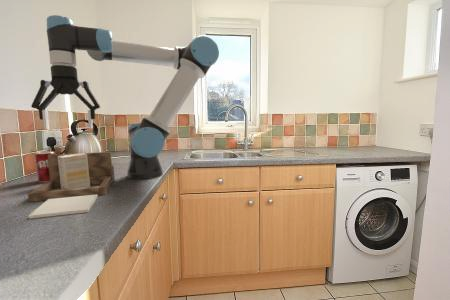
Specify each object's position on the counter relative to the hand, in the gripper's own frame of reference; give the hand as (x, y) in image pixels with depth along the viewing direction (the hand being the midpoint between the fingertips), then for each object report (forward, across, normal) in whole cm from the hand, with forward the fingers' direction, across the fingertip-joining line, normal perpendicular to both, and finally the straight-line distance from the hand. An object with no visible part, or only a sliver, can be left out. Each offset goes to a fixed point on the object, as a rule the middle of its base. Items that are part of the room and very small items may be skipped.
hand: (69, 129), depth 87 cm
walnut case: (+22, -1, -1) cm, 22 cm away
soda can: (+22, +15, -20) cm, 34 cm away
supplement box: (+22, 0, 0) cm, 22 cm away
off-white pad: (+22, -2, +18) cm, 29 cm away
